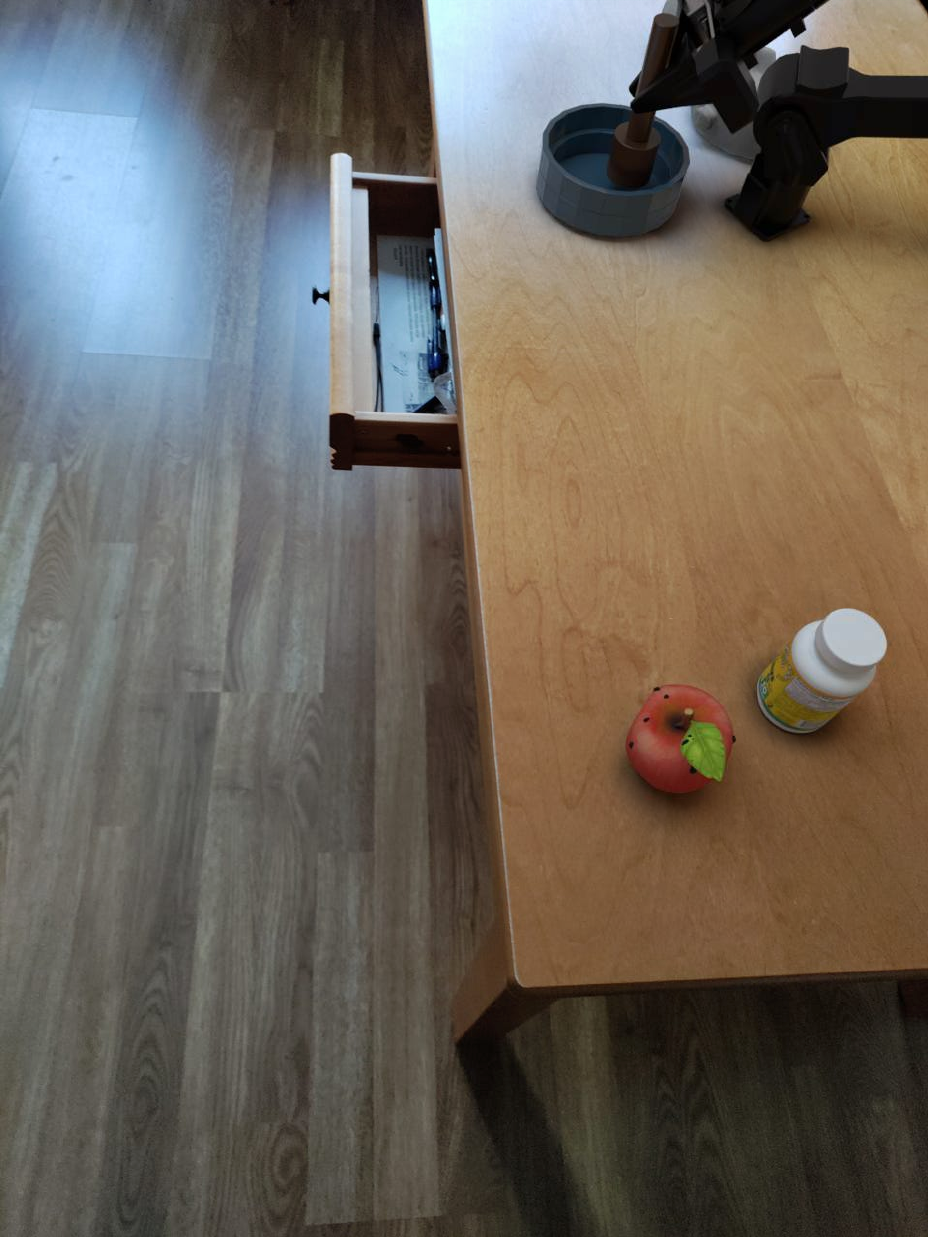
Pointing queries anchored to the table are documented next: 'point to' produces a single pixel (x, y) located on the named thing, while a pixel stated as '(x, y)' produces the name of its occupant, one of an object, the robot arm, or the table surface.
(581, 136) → the bowl
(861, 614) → the supplement bottle
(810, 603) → the table surface
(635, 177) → the pestle
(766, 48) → the dish
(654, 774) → the apple
